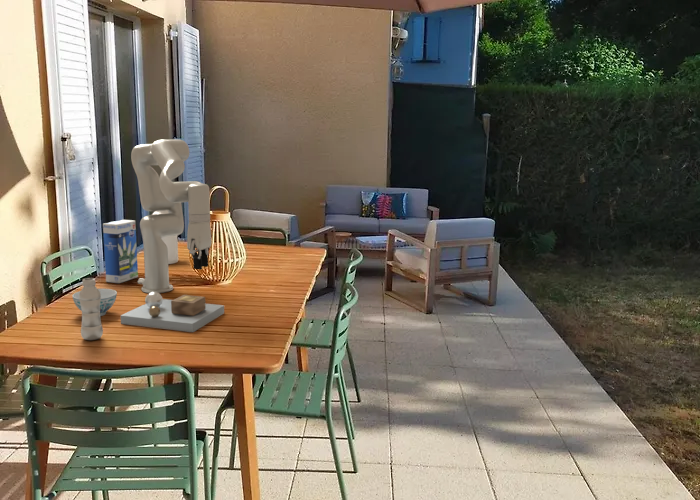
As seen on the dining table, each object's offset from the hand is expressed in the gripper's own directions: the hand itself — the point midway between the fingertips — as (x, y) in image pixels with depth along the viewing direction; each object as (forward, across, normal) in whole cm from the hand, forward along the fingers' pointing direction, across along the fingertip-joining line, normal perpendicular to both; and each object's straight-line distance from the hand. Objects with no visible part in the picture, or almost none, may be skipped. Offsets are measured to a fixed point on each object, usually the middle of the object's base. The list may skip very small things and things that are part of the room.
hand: (200, 267), depth 235 cm
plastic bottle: (+17, +38, -19) cm, 46 cm away
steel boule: (+11, +10, -14) cm, 20 cm away
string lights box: (+17, -32, -57) cm, 68 cm away
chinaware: (+17, +14, -35) cm, 42 cm away
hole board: (+17, +10, -6) cm, 21 cm away
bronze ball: (+12, +18, -8) cm, 24 cm away
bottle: (+17, -70, -59) cm, 93 cm away
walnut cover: (+14, +9, 0) cm, 17 cm away
